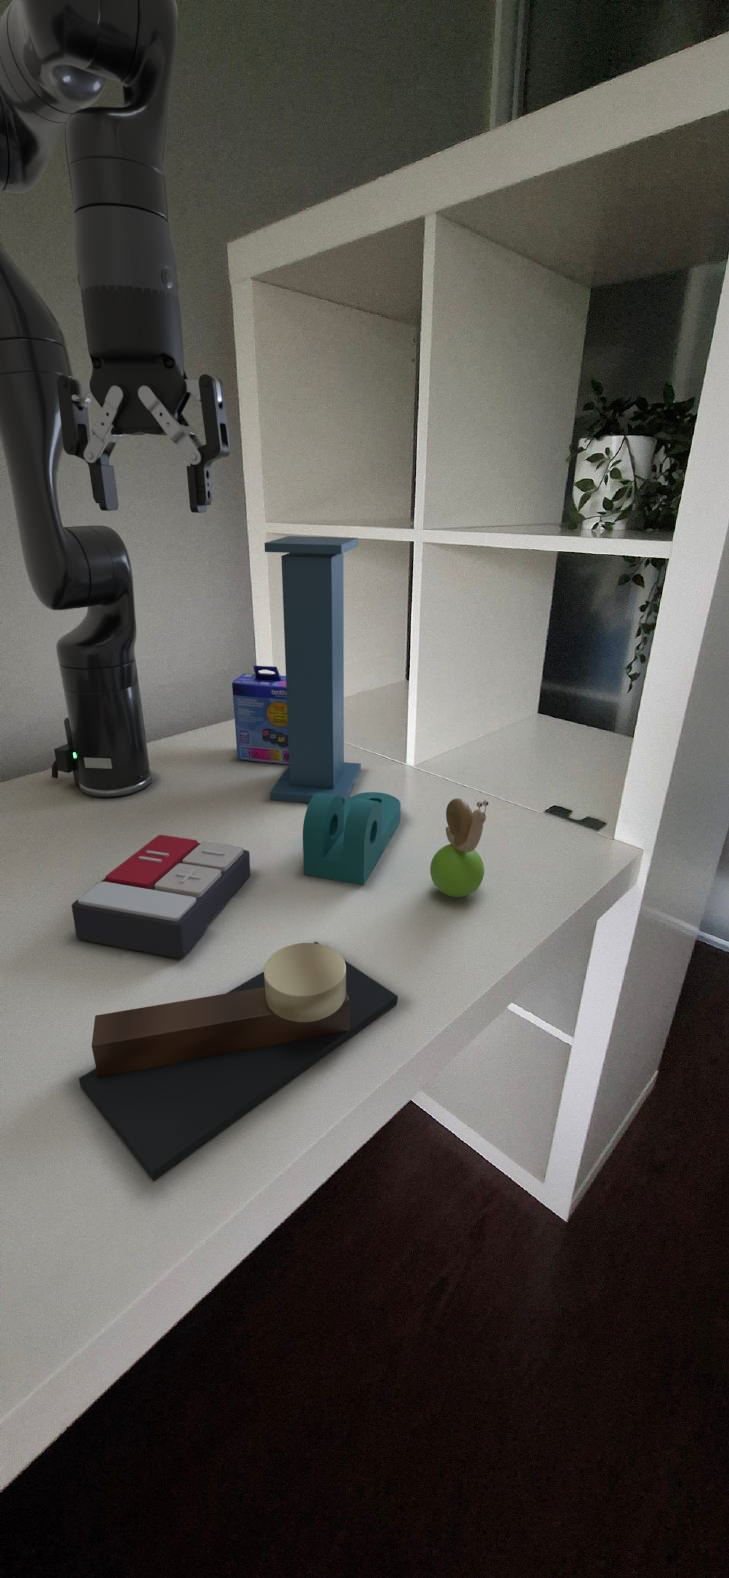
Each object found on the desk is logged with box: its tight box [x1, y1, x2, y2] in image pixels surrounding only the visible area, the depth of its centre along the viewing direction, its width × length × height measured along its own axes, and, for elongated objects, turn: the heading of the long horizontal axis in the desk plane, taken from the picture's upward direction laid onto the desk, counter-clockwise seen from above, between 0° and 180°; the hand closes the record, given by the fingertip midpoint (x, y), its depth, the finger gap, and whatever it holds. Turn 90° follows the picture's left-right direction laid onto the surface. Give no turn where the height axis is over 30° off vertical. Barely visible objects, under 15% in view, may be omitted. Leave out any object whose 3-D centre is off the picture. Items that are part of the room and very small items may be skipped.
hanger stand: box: [264, 535, 362, 805], centre depth 89 cm, size 12×10×32 cm
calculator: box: [71, 834, 251, 959], centre depth 68 cm, size 11×4×15 cm
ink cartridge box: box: [231, 665, 289, 766], centre depth 101 cm, size 10×6×14 cm, turn 79°
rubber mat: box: [78, 941, 399, 1181], centre depth 52 cm, size 22×10×1 cm, turn 135°
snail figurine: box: [429, 798, 489, 898], centre depth 68 cm, size 5×6×12 cm
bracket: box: [302, 791, 402, 886], centre depth 79 cm, size 18×7×8 cm, turn 163°
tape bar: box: [91, 942, 349, 1078], centre depth 50 cm, size 18×6×5 cm, turn 105°
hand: (153, 511), depth 61 cm, fingers open, 8 cm apart
